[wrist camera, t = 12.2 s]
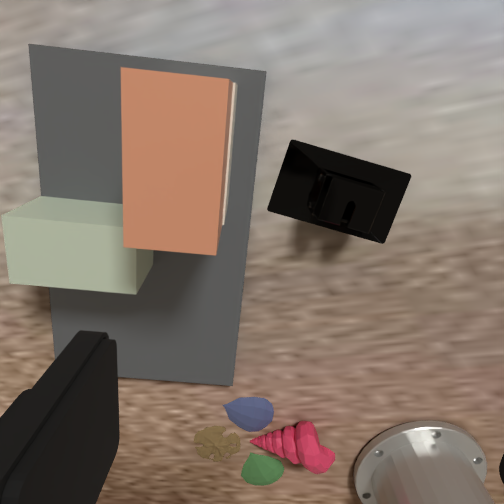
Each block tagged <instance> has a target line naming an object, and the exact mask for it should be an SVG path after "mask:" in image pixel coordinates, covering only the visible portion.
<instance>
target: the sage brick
mask: <svg viewBox="0 0 504 504" xmlns="http://www.w3.org/2000/svg"><path fill="white" fill-rule="evenodd" d="M1 217H2V225H3V233H4V241H5V250H6V258H7V266H8V274H9V282H10V283H12V284H23V285H34V286H45V287H57V288H68V289H79V290H91V291H102V292H113V293H124V294H137V292H138V291H139V289H140V287H141V285H142V283H143V282H144V280H145V278H146V276H147V275H148V273H149V271H150V269H151V267H152V266H153V250H148V249H137V248H126V247H123V204H117V203H107V202H96V201H86V200H76V199H66V198H56V197H46V196H40V197H38V198H36V199H34V200H32V201H30V202H28V203H26V204H24V205H22V206H20V207H18V208H16V209H14V210H12V211H10V212H7V213H5V214H3V215H1Z"/></svg>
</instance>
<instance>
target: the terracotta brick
mask: <svg viewBox="0 0 504 504" xmlns="http://www.w3.org/2000/svg"><path fill="white" fill-rule="evenodd" d="M232 92H233V82H232V81H231V80H230V79H225V78H216V77H207V76H198V75H188V74H179V73H170V72H161V71H152V70H143V69H133V68H124V67H121V120H122V184H123V247H126V248H137V249H148V250H159V251H171V252H182V253H193V254H204V255H215V256H216V254H217V249H218V244H219V239H220V234H221V229H222V222H223V209H224V196H225V183H226V170H227V157H228V144H229V131H230V118H231V105H232Z"/></svg>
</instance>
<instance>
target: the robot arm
mask: <svg viewBox="0 0 504 504" xmlns="http://www.w3.org/2000/svg"><path fill="white" fill-rule="evenodd" d="M118 444H119V402H118V367H117V343H116V340H114V339H109V336H108V333H106V332H97V331H85V330H80V331H79V332H77V334H76V335H75V336H74V337H73V338H72V340H71V341H70V342H69V343H68V345H67V346H66V347H65V348H64V350H63V351H62V352H61V353H60V354H59V356H58V357H57V358H56V359H55V361H54V362H53V363H52V364H51V365H50V367H49V368H48V369H47V370H46V372H45V373H44V374H43V375H42V377H41V378H40V379H39V380H38V381H37V383H36V384H35V385H34V386H33V388H32V389H28V390H25V391H23V392H22V393H21V394H20V395H19V396H18V397H17V398H16V400H15V401H14V402H13V403H12V404H11V406H10V407H9V408H8V409H7V410H6V411H5V413H4V414H3V415H2V416H1V417H0V504H96V502H97V499H98V497H99V494H100V492H101V489H102V487H103V484H104V482H105V480H106V477H107V475H108V472H109V470H110V467H111V465H112V463H113V460H114V458H115V455H116V452H117V449H118ZM499 472H500V477H501V480H502V482H503V483H504V454H503V457H502V460H501V462H500V466H499ZM486 474H487V462H486V457H485V454H484V453H483V451H482V449H481V447H480V446H479V444H478V443H477V442H476V440H475V439H474V437H473V436H472V435H470V434H469V433H468V432H467V431H465V430H464V429H462V428H460V427H458V426H456V425H453V424H450V423H446V422H441V421H432V420H429V421H415V422H409V423H405V424H402V425H399V426H396V427H393V428H391V429H389V430H387V431H385V432H383V433H381V434H380V435H378V436H377V437H376V438H374V439H373V440H372V441H371V442H370V443H369V444H368V445H367V446H366V447H365V448H364V449H363V450H362V452H361V453H360V455H359V456H358V458H357V461H356V463H355V466H354V473H353V477H354V484H355V487H356V491H357V494H358V496H359V498H360V500H361V502H362V503H363V504H495V503H494V501H493V499H492V498H491V496H490V494H489V493H488V491H487V489H486V488H485V486H484V484H483V483H484V481H485V477H486Z"/></svg>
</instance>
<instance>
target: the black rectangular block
mask: <svg viewBox="0 0 504 504" xmlns="http://www.w3.org/2000/svg"><path fill="white" fill-rule="evenodd" d="M410 179H411V175H410V174H408V173H405V172H401V171H398V170H395V169H391V168H388V167H385V166H381V165H378V164H374V163H371V162H368V161H364V160H361V159H357V158H354V157H351V156H347V155H344V154H340V153H337V152H334V151H330V150H327V149H323V148H320V147H317V146H313V145H310V144H307V143H303V142H300V141H296V140H291V141H290V143H289V146H288V149H287V152H286V155H285V158H284V161H283V164H282V167H281V170H280V173H279V176H278V179H277V181H276V184H275V187H274V190H273V193H272V196H271V199H270V202H269V205H268V208H267V210H268V211H270V212H274V213H277V214H280V215H284V216H287V217H291V218H294V219H298V220H301V221H305V222H308V223H312V224H315V225H319V226H322V227H326V228H329V229H333V230H336V231H340V232H343V233H347V234H350V235H354V236H357V237H361V238H364V239H368V240H371V241H375V242H378V243H382V244H383V243H385V241H386V238H387V236H388V233H389V231H390V228H391V226H392V223H393V221H394V218H395V216H396V213H397V211H398V208H399V206H400V203H401V201H402V198H403V196H404V193H405V191H406V188H407V186H408V184H409V181H410Z"/></svg>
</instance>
